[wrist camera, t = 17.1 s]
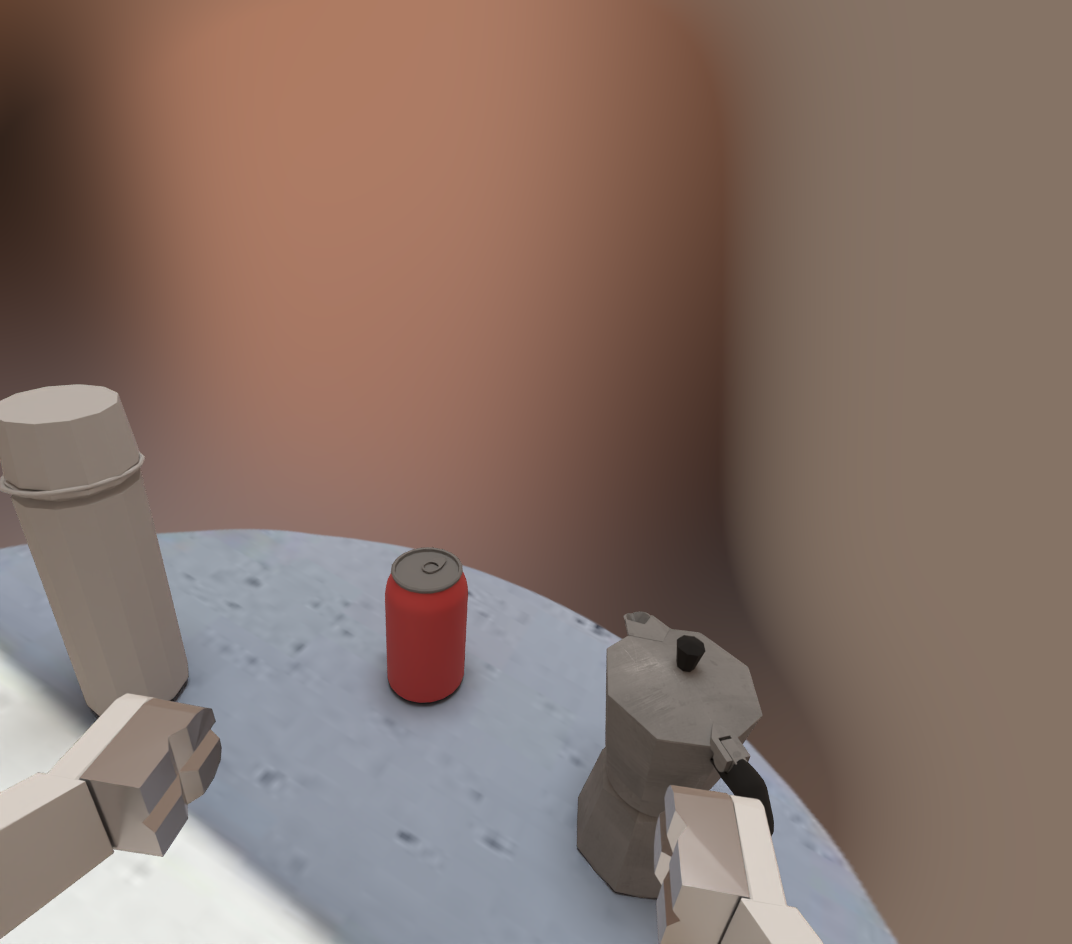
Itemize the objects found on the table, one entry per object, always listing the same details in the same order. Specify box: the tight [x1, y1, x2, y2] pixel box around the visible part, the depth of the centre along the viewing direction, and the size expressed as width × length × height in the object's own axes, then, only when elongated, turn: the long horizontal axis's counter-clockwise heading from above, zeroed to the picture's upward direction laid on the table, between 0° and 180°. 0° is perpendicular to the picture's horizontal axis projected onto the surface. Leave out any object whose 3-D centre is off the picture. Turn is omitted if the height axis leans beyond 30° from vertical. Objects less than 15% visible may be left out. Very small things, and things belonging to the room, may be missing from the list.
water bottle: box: [0, 385, 188, 716], centre depth 44 cm, size 9×8×25 cm
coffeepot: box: [577, 612, 774, 899], centre depth 38 cm, size 15×9×18 cm, turn 18°
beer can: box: [385, 548, 468, 703], centre depth 51 cm, size 7×7×12 cm
